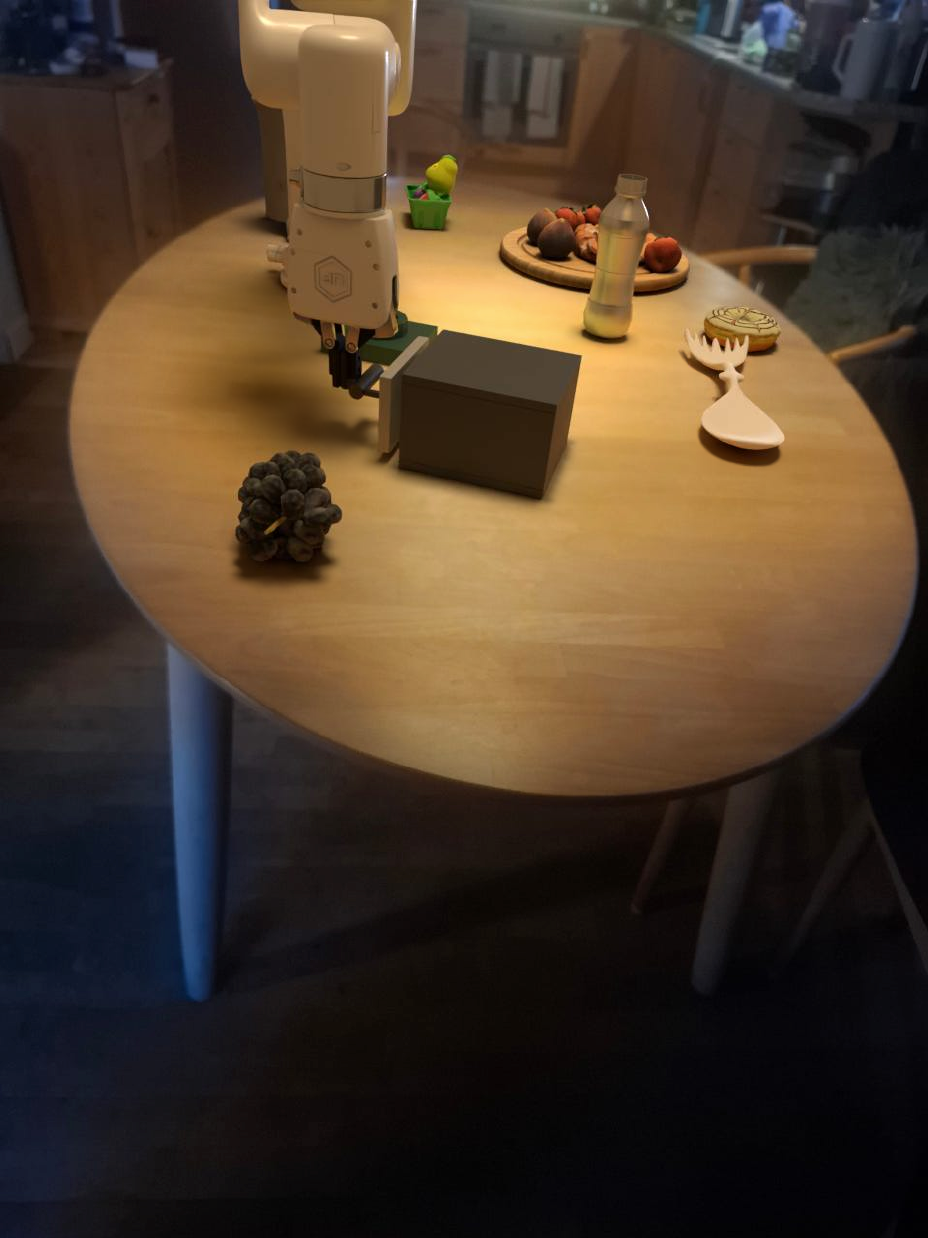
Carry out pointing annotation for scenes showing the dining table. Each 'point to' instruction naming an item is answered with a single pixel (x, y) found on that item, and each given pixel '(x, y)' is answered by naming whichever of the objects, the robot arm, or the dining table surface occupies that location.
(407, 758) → the dining table surface
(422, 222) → the fruit basket
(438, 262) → the dining table surface
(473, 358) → the cabinet
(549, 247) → the wooden plate
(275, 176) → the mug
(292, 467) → the fruit
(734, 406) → the cream spork
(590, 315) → the plastic bottle
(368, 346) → the control block
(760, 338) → the decorated donut
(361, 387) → the drawer
